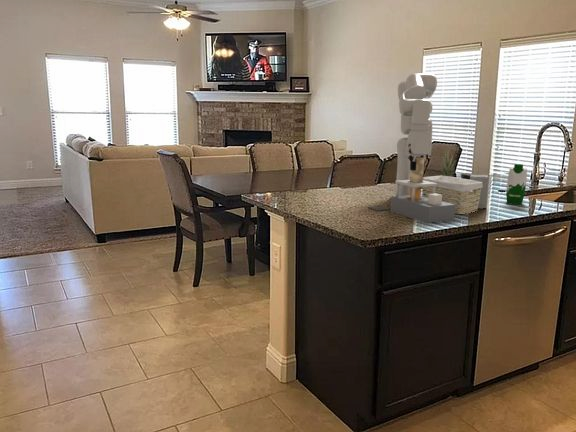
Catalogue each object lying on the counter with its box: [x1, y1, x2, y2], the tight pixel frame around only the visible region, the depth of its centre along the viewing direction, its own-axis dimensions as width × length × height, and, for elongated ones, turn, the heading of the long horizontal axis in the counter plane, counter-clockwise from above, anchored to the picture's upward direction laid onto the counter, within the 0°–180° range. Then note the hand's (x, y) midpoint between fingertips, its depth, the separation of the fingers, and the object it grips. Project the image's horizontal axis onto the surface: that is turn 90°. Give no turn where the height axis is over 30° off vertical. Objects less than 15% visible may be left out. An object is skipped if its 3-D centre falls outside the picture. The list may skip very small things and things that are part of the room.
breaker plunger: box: [409, 188, 422, 200], centre depth 228 cm, size 5×5×8 cm
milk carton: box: [505, 163, 528, 205], centre depth 258 cm, size 9×9×20 cm
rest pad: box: [368, 205, 391, 212], centre depth 238 cm, size 7×7×1 cm
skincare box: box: [470, 174, 489, 209], centre depth 245 cm, size 8×7×16 cm
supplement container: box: [460, 172, 480, 180], centre depth 278 cm, size 10×10×12 cm
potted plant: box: [439, 151, 457, 177], centre depth 298 cm, size 10×10×25 cm
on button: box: [428, 193, 442, 205], centre depth 217 cm, size 4×4×7 cm
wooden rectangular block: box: [409, 156, 425, 190], centre depth 225 cm, size 4×4×14 cm
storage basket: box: [421, 175, 483, 215], centre depth 239 cm, size 24×16×15 cm
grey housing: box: [389, 179, 456, 224], centre depth 224 cm, size 26×14×14 cm, turn 25°
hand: (417, 169), depth 225 cm, fingers closed on wooden rectangular block, 4 cm apart
